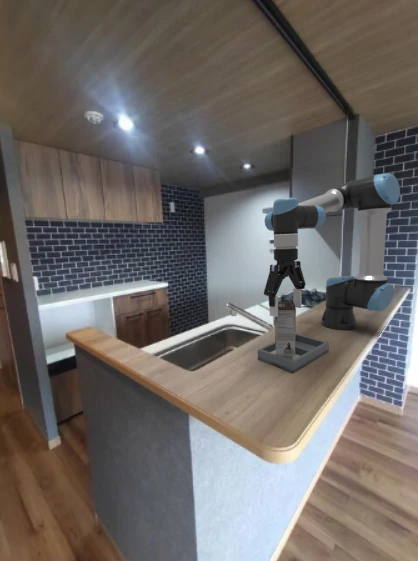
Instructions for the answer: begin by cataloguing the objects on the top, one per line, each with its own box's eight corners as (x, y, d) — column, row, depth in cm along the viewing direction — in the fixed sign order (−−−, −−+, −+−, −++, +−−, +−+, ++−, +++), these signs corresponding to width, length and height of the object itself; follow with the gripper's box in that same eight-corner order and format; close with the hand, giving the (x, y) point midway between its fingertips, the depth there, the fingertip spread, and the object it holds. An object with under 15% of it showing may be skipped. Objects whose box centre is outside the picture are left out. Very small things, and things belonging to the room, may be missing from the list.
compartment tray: (294, 341, 107) (294, 333, 106) (328, 351, 96) (328, 342, 95) (257, 358, 92) (257, 349, 92) (292, 373, 81) (293, 362, 81)
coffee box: (274, 344, 95) (274, 301, 93) (292, 345, 94) (293, 301, 91) (275, 355, 86) (275, 308, 84) (296, 356, 85) (296, 308, 83)
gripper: (296, 245, 96) (296, 302, 99) (251, 250, 80) (253, 317, 83) (316, 245, 90) (315, 305, 93) (271, 250, 74) (272, 322, 78)
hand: (286, 311), depth 88 cm, fingers open, 13 cm apart
